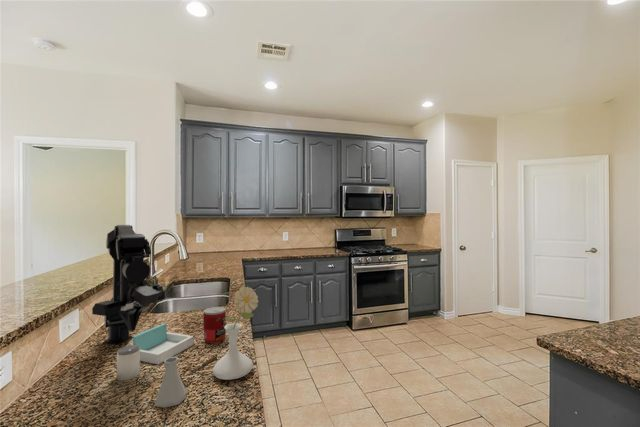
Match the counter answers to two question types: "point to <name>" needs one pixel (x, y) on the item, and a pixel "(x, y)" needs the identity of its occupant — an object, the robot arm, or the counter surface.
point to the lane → (167, 348)
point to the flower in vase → (235, 361)
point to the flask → (171, 386)
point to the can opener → (206, 363)
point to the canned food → (214, 324)
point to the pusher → (151, 337)
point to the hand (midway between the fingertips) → (132, 330)
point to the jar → (128, 362)
